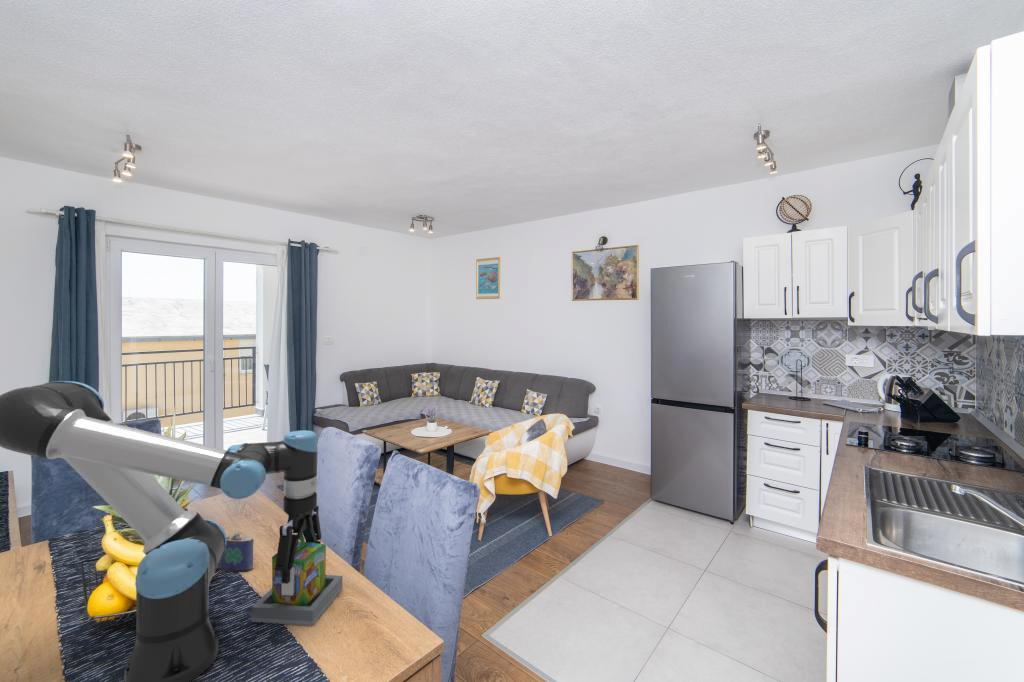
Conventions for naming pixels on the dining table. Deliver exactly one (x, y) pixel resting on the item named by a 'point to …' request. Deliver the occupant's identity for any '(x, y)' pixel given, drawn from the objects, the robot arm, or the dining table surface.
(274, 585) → the chalk box
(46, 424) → the robot arm
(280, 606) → the grey square tray
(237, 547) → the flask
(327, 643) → the dining table surface
